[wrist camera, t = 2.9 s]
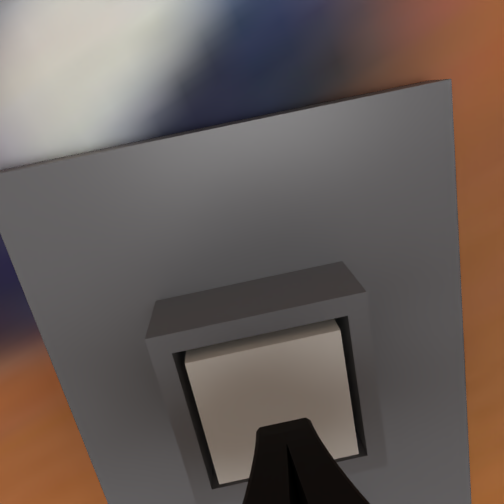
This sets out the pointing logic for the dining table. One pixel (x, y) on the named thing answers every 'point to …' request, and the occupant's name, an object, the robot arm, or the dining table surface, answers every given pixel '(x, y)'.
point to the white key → (271, 392)
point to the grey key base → (255, 284)
